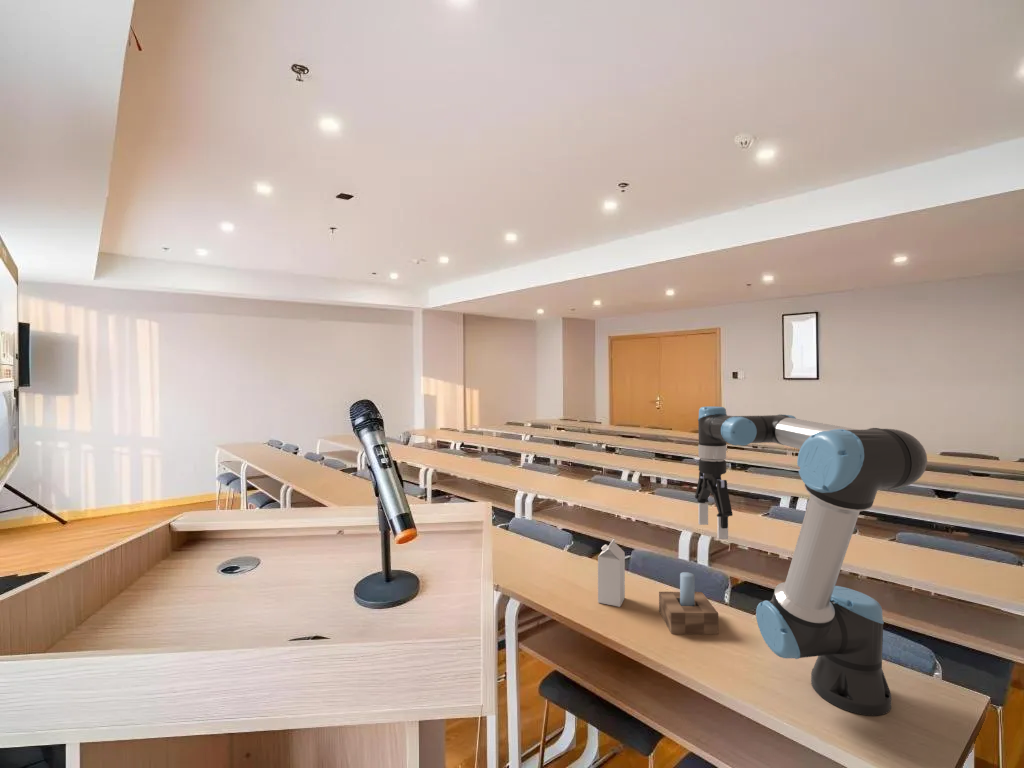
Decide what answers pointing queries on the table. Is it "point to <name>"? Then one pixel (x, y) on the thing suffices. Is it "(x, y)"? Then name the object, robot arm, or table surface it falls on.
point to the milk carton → (611, 575)
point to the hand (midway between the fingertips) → (712, 531)
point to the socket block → (688, 614)
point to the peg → (687, 589)
